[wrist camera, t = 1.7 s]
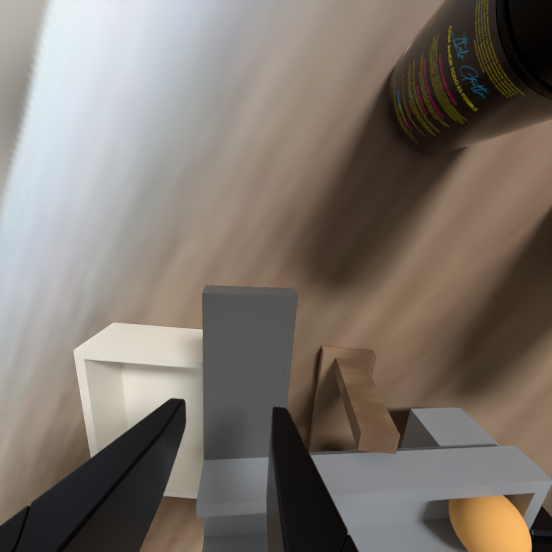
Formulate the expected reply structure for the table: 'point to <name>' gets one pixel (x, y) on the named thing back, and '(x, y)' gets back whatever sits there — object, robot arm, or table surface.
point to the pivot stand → (350, 405)
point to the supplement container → (474, 74)
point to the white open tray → (144, 389)
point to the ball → (489, 524)
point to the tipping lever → (339, 464)
